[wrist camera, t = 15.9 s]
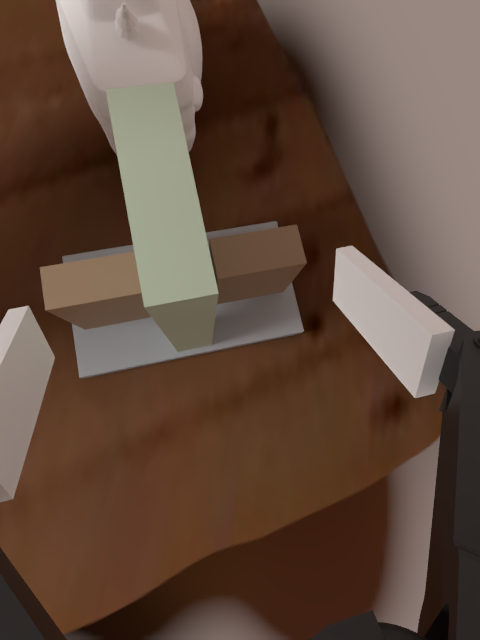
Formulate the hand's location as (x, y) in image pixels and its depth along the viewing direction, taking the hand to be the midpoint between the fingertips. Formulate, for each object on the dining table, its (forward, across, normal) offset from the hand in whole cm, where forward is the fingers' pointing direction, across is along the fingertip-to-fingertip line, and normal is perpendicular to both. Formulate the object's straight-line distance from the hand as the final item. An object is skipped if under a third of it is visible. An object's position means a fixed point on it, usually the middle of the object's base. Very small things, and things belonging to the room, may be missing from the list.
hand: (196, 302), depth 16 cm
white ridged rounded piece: (+31, 0, +5) cm, 32 cm away
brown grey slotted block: (+16, 0, -9) cm, 19 cm away
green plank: (+15, 0, -8) cm, 17 cm away
